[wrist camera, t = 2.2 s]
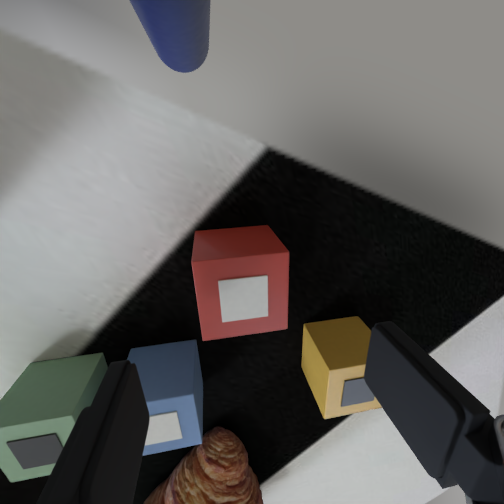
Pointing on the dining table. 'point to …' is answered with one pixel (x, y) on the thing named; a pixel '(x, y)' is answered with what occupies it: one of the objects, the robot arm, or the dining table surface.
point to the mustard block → (338, 365)
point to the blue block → (171, 394)
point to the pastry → (211, 474)
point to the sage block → (45, 412)
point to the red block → (240, 281)
